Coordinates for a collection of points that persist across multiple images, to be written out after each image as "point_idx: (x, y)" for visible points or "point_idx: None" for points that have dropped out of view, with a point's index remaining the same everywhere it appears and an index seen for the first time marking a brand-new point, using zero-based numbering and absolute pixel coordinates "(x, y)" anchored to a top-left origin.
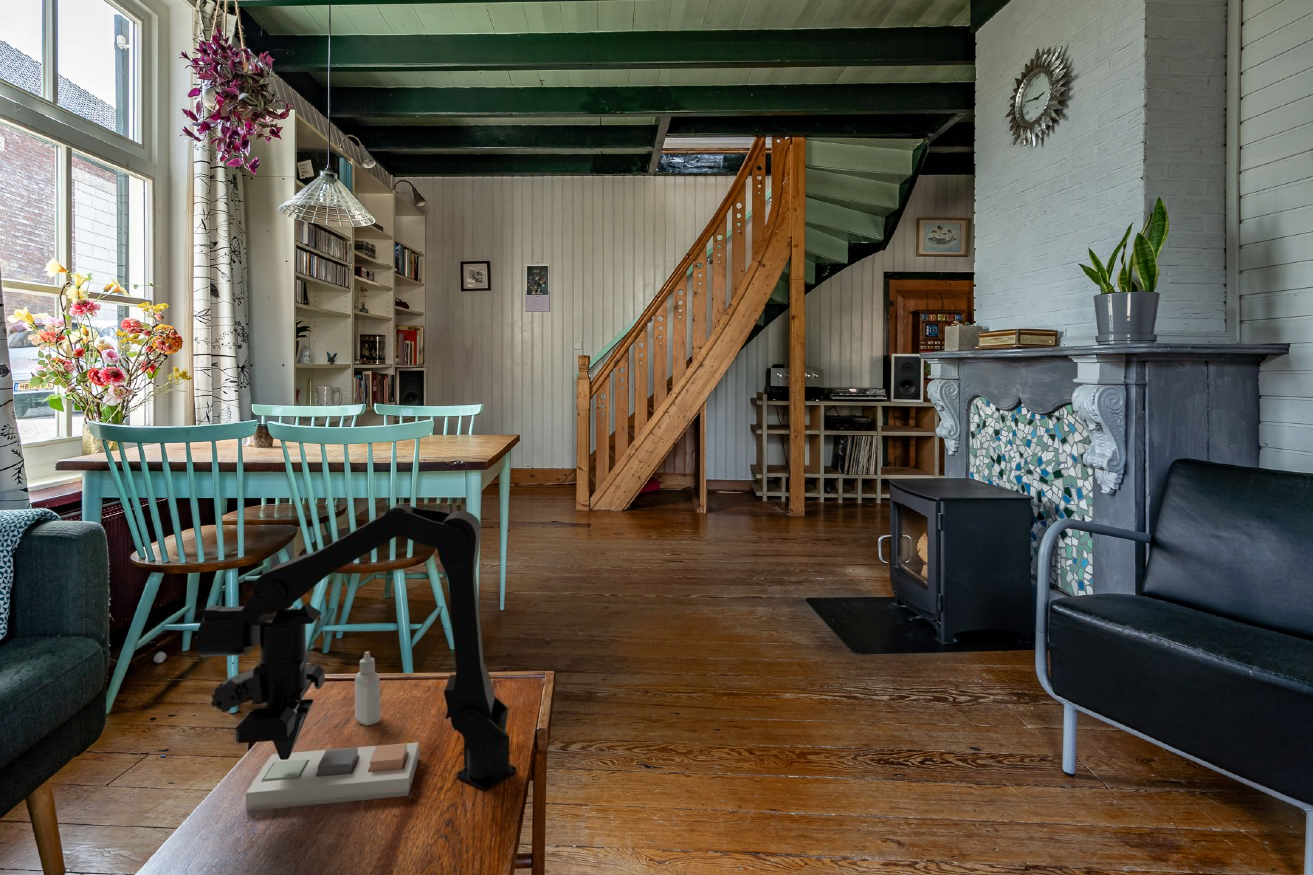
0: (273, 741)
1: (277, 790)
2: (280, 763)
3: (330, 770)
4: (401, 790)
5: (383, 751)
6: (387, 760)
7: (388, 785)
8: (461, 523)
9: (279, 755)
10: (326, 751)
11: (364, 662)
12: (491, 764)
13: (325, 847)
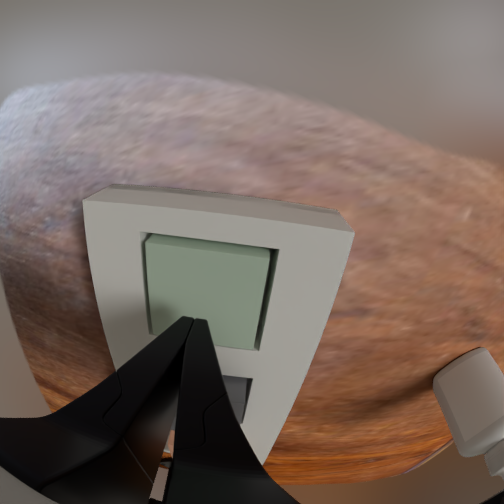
0: (114, 372)
1: (95, 286)
2: (249, 280)
3: None
4: None
5: None
6: (171, 454)
7: None
8: None
9: (170, 327)
10: (234, 404)
11: (499, 470)
12: (166, 484)
13: (36, 335)
